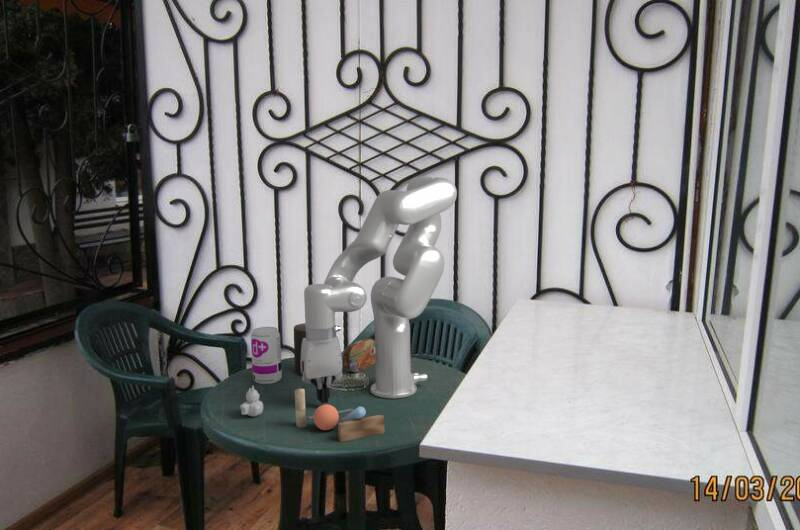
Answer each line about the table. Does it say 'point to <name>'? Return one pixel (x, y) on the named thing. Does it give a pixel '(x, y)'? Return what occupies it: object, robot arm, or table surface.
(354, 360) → the tin
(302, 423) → the birch pin
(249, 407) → the white figurine
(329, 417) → the ball
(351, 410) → the lane line
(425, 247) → the robot arm
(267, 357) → the supplement can
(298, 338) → the pillar candle
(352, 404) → the table surface
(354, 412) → the pin
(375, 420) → the back rail
